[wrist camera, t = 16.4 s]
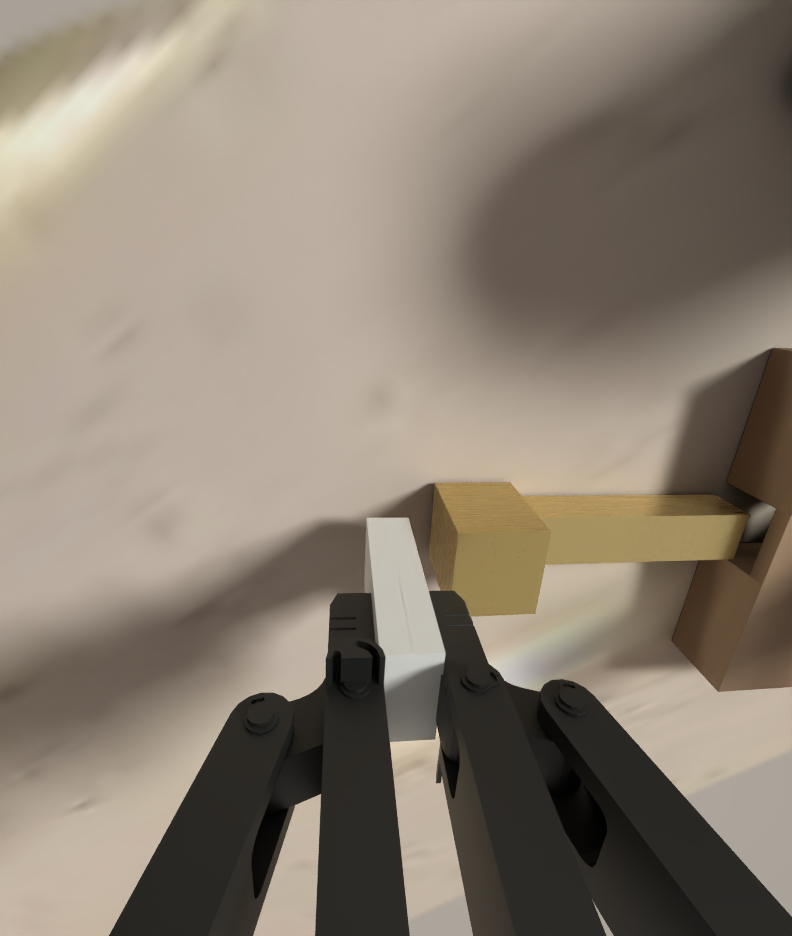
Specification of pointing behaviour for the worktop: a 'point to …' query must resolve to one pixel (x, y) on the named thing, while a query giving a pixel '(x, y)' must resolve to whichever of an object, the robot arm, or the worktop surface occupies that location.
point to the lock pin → (563, 537)
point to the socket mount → (751, 559)
